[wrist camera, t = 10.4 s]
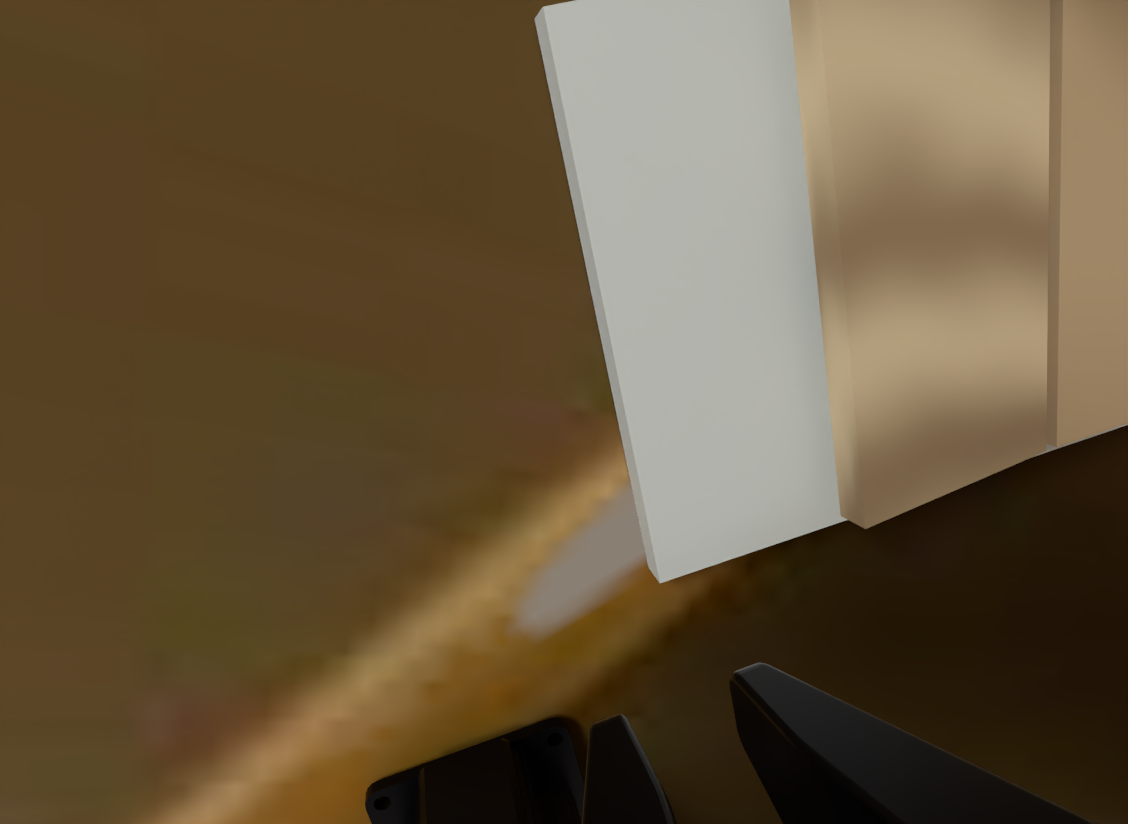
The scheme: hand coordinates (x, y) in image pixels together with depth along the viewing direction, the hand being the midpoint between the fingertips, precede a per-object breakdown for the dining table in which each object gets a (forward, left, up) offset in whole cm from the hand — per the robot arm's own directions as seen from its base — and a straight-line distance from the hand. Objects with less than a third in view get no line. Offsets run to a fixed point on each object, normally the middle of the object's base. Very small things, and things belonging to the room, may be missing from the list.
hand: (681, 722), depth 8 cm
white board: (+2, -13, -12) cm, 18 cm away
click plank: (+2, -12, -11) cm, 16 cm away
